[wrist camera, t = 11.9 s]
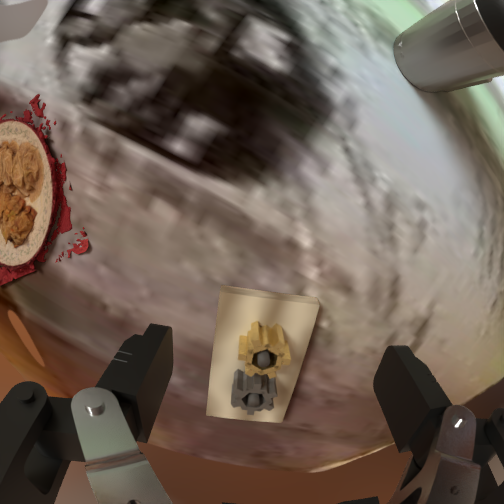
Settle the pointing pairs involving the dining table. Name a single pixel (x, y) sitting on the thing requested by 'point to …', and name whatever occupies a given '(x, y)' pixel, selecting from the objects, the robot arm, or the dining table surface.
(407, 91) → the dining table surface
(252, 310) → the gear board
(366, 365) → the dining table surface
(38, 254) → the plate with food
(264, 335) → the brass gear
